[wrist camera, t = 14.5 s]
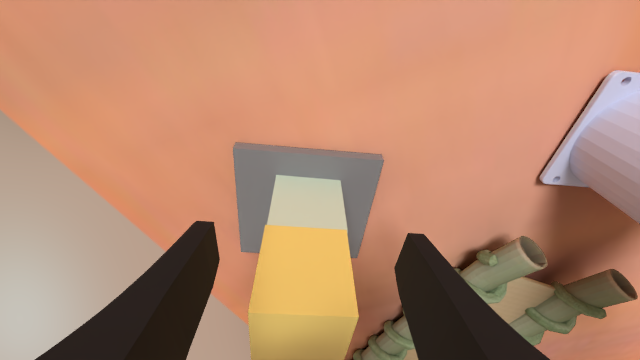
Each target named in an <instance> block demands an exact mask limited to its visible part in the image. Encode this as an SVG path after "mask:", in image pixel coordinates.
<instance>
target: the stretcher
mask: <svg viewBox="0 0 640 360" xmlns="http://www.w3.org/2000/svg"><path fill="white" fill-rule="evenodd" d="M476 258H477V259H478V260H476V261H475V262H473V263H472V264H471V265H469V266H468V267H467V268H465V269H464V270H463V271H461V270H460V269H458V268H454V269H455V270H456V271H457V273H458V274H459V275H460V276H461V277H462V278H463V279H464V280H465V281H466V282H467V283H468V285H469V286H470V287H471V288H472V289H473V290H474V291H475V292H476V293H477V294H478V295H479V296H480V297H481V298H482V299H483V300H484V301H485V302H486V303H487V304H488V305H489V306H490V307H491V308H492V309H493V310H494V311H495V312H496V313H497V314H498V315H499V316H500V317H501V318H502V319H503V320H505V321H506V322H507V323H508V324H509V325H510V326H511V327H512V328H513V329H515V330H516V331H517V332H518V333H519V334H520V335H521V336H522V337H523V338H525V339H526V340H527V341H528V342H529V343H530V344H532V345H533V346H534V345H537V344H539V343H540V342H541V339H542V337H543V334H544V331H546V330H549V331H553V332H558V333H562V334H567V333H569V332H570V331H571V329H572V328H573V327H574V326H575V324H576V318H577V316H578V315H580V314H584V315H587V316H591V317H595V318H599V319H602V318H604V317H606V311H605V310H604V309H602V308H604V307H608V306H612V305H616V304H620V303H624V302H628V301H632V300H636V299H637V297H638V296H637V293H636V291H635V289H634V288H633V286H632V285H631V284H630V282H629V281H628V280H627V279H626V278H625V277H624V276H623V275H622V274H621V273H619V272H618V271H616V270H615V269H609V270H606V271H604V272H601V273H598V274H595V275H592V276H589V277H587V278H584V279H581V280H578V281H575V282H573V283H570V284H567V285H564V286H563V285H562V284H560V283H558V282H555V281H554V282H552V283H551V285H548V284H545V283H542V282H539V281H536V280H533V279H530V278H527V277H523V276H526V275H528V274H531V273H533V272H536V271H538V270H541V269H543V268H545V267H546V266H547V259H546V257H545V255H544V253H543V251H542V250H541V249H540V247H539V246H538V245H537V244H536V243H535V242H534V241H532V240H531V239H530V238H528V237H526V236H521V237H519V238H517V239H515V240H513V241H511V242H510V243H508V244H506V245H504V246H502V247H500V248H498V249H496V250H495V251H493V252H491V251H489V250H488V249H487V250H481V251H479V252H478V253H477V255H476ZM403 314H404V316H403V317H401V318H400V319H399V320H398V321H397V322H394V321H386V322H385V323H384V331H385V332H384V333H382V334H381V335H380V336H378V335H373V336H371V337H370V339H369V341H368V345H369V346H368V347H367V348H366V349H365V350H363V349H359V350H356V351H355V353H354V355H353V359H354V360H418V357H417V353H416V350H415V347H414V343H413V340H412V337H411V333H410V330H409V327H408V323H407V320H406V317H405V313H404V310H403Z"/></svg>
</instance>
